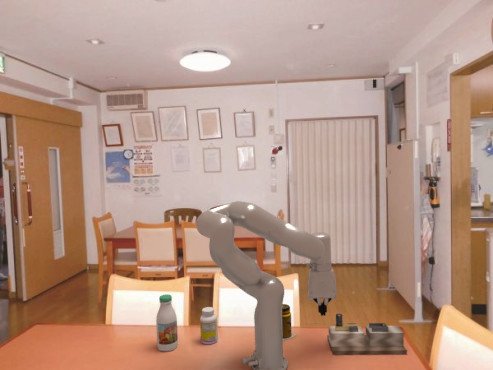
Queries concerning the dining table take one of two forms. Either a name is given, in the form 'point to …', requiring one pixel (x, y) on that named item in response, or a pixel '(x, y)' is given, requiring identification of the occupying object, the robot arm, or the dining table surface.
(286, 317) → the condiment
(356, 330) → the lock hardware
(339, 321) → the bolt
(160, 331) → the milk bottle
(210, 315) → the supplement bottle
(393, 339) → the grey brown double block
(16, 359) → the dining table surface
